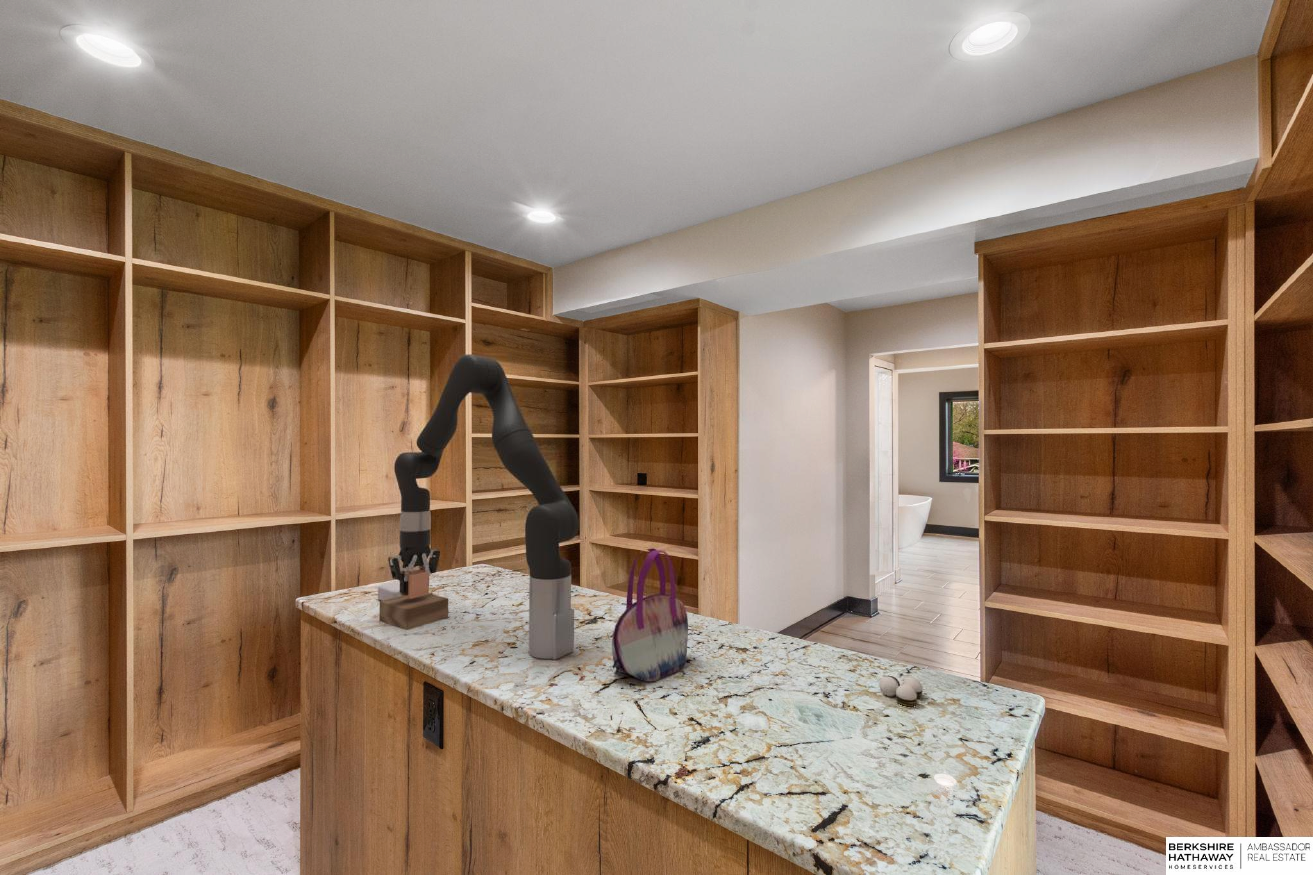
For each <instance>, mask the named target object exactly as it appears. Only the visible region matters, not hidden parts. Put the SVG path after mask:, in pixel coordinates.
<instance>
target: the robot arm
mask: <svg viewBox="0 0 1313 875" xmlns="http://www.w3.org/2000/svg"><path fill="white" fill-rule="evenodd" d="M470 393H471V394H479V395H480V394H481V395H483V397H484V398H485V399H486V402H487V403H488V405H489V408H490V409H491V411H492V415H493V416H492V417H493V421H492V427H491V440H492V444H493V447H494V449H495V451H496V453H497V455H498V457H499V459H500V461H501V463H502V464H503V466H504V468H505V469H506V471H508V472H509V473H510V475H511V476H513V477H514V478H515V479H516V480H517V481H518V482H519V483H521V485H523V486H524V487H525V488H527V489H528V491H530V492H531V494H532V495H533V497H534V498H535V500H536V502H537V504H538V505H535V506H533V507H532V508H531V509H530V510H529V511H528V513H527V515H526V518H525V525H524V532H525V534H524V537H525V538H524V539H525V560H526V563H527V566H528V569H529V587H528V588H529V591H528V593H529V594H528V595H529V599H528V600H529V601H528V602H529V603H528V608H529V609H528V654H529V655H530V656H531V657H533V658H536V659H545V660H546V659H548V660H549V659H551V660H557V659H560V658H561V657H564V656H566V655H568V654H571V653H572V652H574V650H575V649H574V648H575V609H574V608H572V564H571V561H569V560H568V559H566V558H563V557H561V554H560V544H562V543H565V542H569V541H571V540H574V538H576V536H577V534H578V532H579V528H580V522H579V521H580V520H579V516H578V513H577V511H576V509H575V506H573V504H572V502H571V501H570V499H569V497H568V496H567V495H566V493H565V492H564V490H563V489H562V487H561V486H560V484H559V483H558V481H557V479H556V478H555V476H554V474H553V472H552V470H551V468H550V466H549V465H548V463H547V461H546V459H545V457H544V455H543V453H542V451H541V449H540V447H539V444H538V443H537V441H536V439H535V437H534V435H533V433H532V430H531V429H530V427H529V425H528V423H527V421H526V419H525V418H524V416H523V413H522V411H521V409H520V407H519V405H518V403H517V400H516V399H515V396H514V394H513V391H512V389H511V386H510V383H509V380H508V377H507V375H506V373H505V371H504V369H503V367H502V365H501V364H500V362H499V361H498V360H496V359H494V358H491V357H487V356H482V355H478V354H477V355H476V354H472V353H471V354H464V355H462V356H461V357H460V358H458V359H457V360H456V363H454V365H453V367H452V370H451V372H450V374H449V376H448V379H447V381H446V383H445V385H444V388H443V390H442V392H441V395H440V398H439V400H438V403H437V405H436V407H435V410H434V412H433V413H432V415H431V416H430V418H429V420H428V422H427V423H426V424H425V426H424V428H423V429H422V430H421V432H420V434H419V435H418V436H417V439H416V447H417V448H418V449H419V451H412V452H411V451H407V452H402V453H400V454H398V456H397V457H396V459H395V461H394V467H393V469H394V475H395V478H396V481H397V486H398V489H399V493H400V498H401V500H400V517H399V548H400V551H399V553H398V555H397V554H396V556H393V557H392V556H390V557H388V558H387V561H388V565H389V570H390V573H391V574H390V575H391V577H392V579H393V580H396V581H400V593H401V594H402V595H404V596H406V595H408V579H409V574H410V573H411V572H412V570H414V568H416V567H417V569H420V570H424V571H429V577H430V576H431V575H433V574H435V573H437V570H438V565H439V560H440V555H441V551H440V550H438V549H431V547H430V545H431V542H432V541H431V540H432V539H431V538H432V536H431V535H432V534H431V532H432V529H431V528H432V527H431V526H432V525H431V524H432V523H431V522H432V518H431V517H432V516H431V493H430V490H429V489H428V488H425V487H420V486H419V485H418V483H417V479H418V480H419V479H428V478H430V477H432V476H434V474H435V473H437V471H438V469H439V466H440V463H441V460H442V456H443V452H444V450H445V449H446V447H447V446H448V444H449V443H450V441H451V440H452V438H453V437H454V435H455V433H456V431H457V428H458V416H459V414H458V413H459V407H460V405H461V403H462V402H463V400H465V398H466V397H467V396H468V395H469V394H470ZM428 558H429V560H428ZM401 562H402V563H401ZM400 564H401V566H400Z"/></svg>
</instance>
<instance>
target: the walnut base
mask: <svg viewBox="0 0 1313 875" xmlns="http://www.w3.org/2000/svg"><path fill="white" fill-rule="evenodd" d="M378 616H379V621H380V622H382V623H386V624H389V625H391V626H394V627H397V628H400V629H404V630H406V631H407V630H410V629H413V628H417V627H421V626H424V625H427V624H431V623H433V622H437V621H441V620H444V619H447V618H449V598H447V597H443V596H442V595H441V596H439V595H437V594H432V593H429V594H428V595H424V596H420V597H416V598H412V599H411V598H407V597H404V596H400V597H396V598H392V599H388V600H384V601H382V600H379V615H378Z"/></svg>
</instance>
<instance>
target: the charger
mask: <svg viewBox="0 0 1313 875" xmlns="http://www.w3.org/2000/svg"><path fill="white" fill-rule="evenodd" d="M396 597H400V581H399V580H396V581H391V582H385V583H381V584H379V585H378V586H377V599H378V600H379V601H384V600H388V599H392V598H396Z"/></svg>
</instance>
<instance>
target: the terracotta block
mask: <svg viewBox="0 0 1313 875" xmlns="http://www.w3.org/2000/svg"><path fill="white" fill-rule="evenodd" d="M429 588H430V576H429V571H424V570H420V569H419V568H416V569H413V570H412V572H411V573H410V574H409V579H408V595H406V596H404V595H402V594H401V593H400V596H404V597H407V598H411V599H412V598H416V597H420V596H424V595H428V594H430V591H429V590H430V589H429Z"/></svg>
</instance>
